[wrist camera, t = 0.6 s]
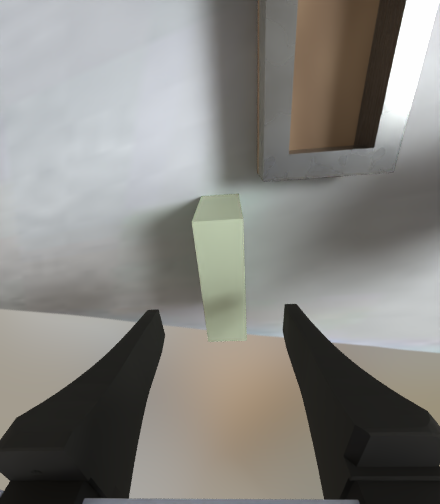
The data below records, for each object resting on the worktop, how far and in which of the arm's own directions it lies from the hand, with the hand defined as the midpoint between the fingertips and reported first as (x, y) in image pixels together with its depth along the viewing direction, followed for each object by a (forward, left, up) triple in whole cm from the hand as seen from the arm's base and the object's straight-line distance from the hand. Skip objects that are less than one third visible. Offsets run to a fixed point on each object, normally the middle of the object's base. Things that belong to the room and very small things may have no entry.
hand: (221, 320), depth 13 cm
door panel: (0, 0, -9) cm, 9 cm away
